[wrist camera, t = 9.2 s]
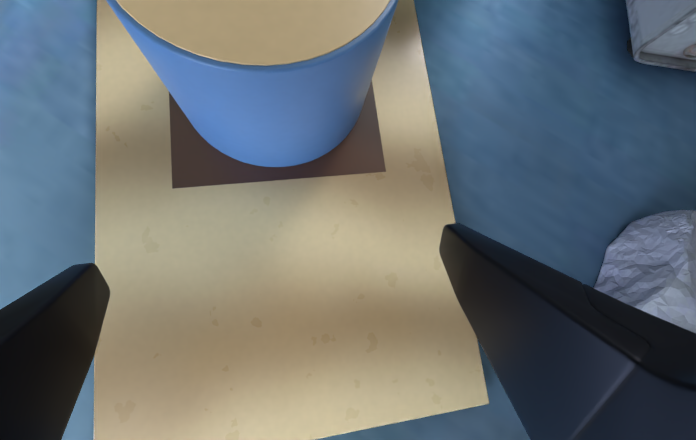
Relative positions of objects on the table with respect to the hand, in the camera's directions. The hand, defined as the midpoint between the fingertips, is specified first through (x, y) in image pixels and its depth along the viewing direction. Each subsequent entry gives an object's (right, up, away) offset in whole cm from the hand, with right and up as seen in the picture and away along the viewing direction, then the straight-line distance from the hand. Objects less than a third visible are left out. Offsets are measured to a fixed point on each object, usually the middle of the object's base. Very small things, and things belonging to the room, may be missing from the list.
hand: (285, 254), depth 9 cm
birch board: (-2, +4, +10) cm, 10 cm away
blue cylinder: (-2, +9, +9) cm, 13 cm away
